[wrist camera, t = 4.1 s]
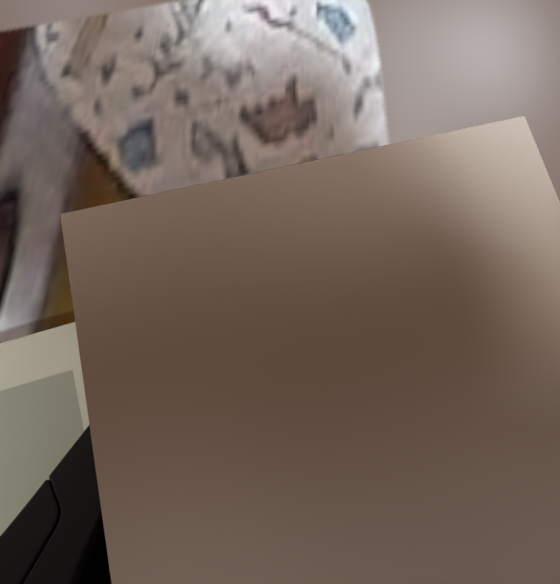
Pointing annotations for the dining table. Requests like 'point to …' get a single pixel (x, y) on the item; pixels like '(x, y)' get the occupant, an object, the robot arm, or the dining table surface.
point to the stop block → (330, 369)
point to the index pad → (37, 412)
